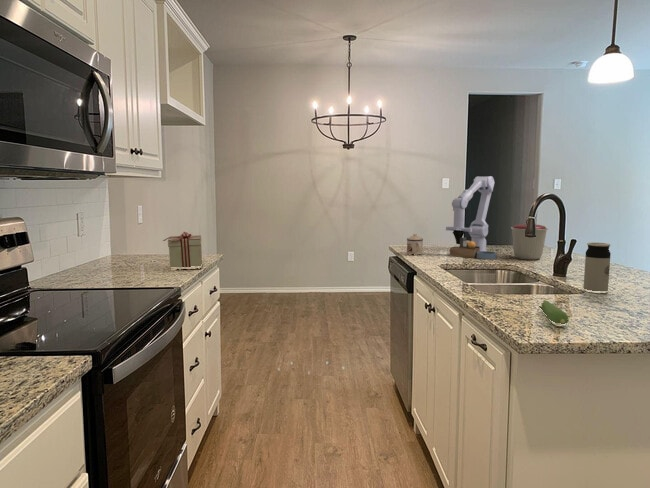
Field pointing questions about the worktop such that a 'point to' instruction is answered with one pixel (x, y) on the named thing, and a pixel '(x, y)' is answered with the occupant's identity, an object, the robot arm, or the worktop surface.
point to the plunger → (464, 242)
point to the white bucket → (528, 242)
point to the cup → (486, 255)
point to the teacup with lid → (414, 245)
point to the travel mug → (597, 267)
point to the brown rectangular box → (464, 251)
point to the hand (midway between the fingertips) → (458, 244)
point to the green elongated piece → (554, 313)
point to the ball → (471, 244)
